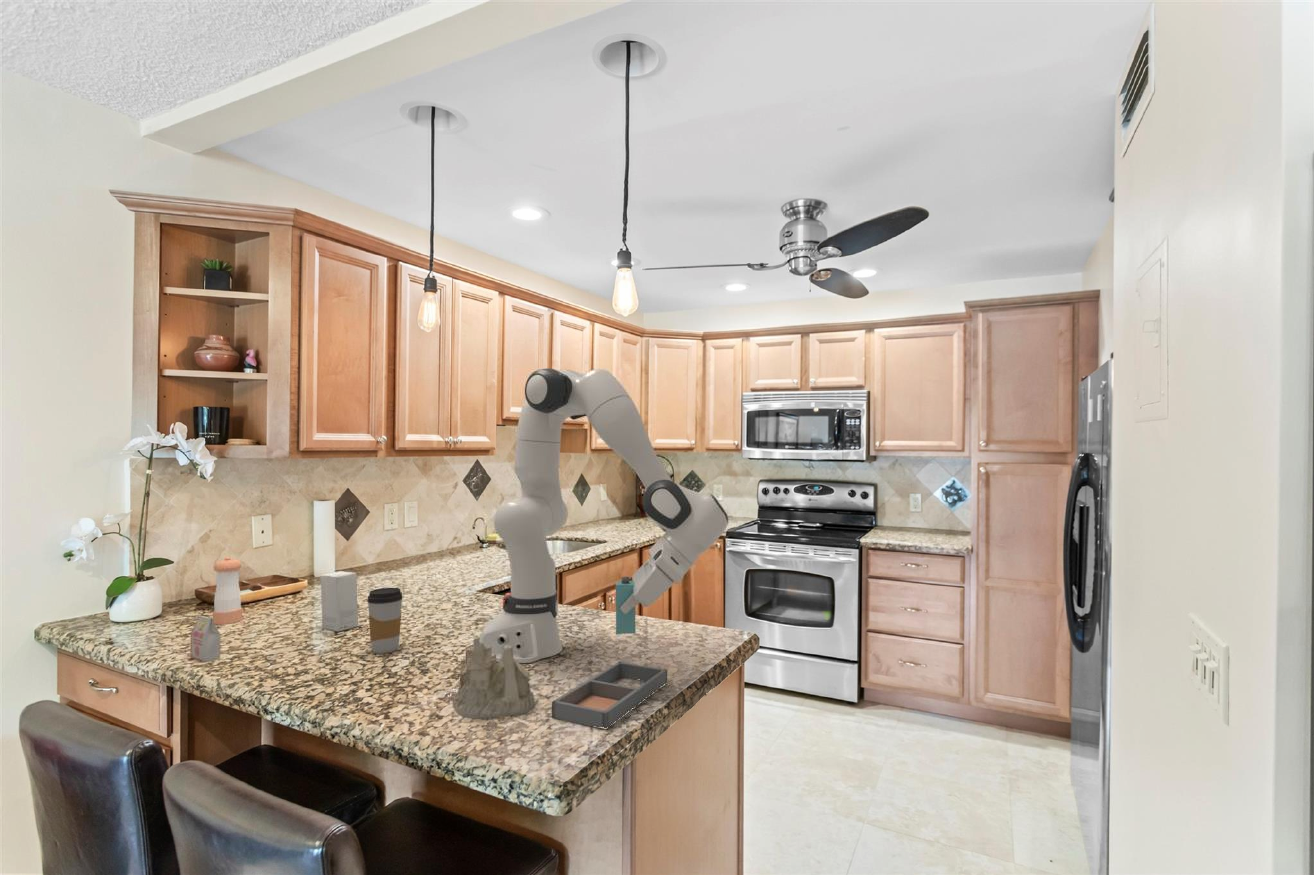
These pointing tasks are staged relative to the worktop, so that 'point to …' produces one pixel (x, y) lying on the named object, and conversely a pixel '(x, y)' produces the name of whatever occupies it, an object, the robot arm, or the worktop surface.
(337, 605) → the skincare box
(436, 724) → the worktop surface
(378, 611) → the coffee cup
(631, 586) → the teal plug
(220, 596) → the salt shaker
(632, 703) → the slot frame
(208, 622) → the gable top carton
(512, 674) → the castle ruin ornament
